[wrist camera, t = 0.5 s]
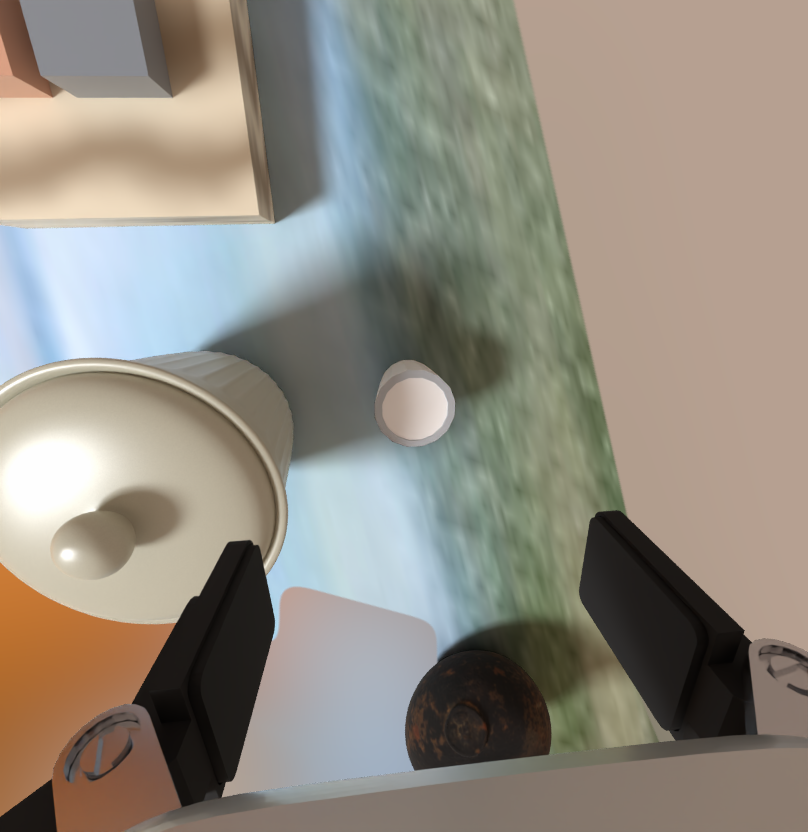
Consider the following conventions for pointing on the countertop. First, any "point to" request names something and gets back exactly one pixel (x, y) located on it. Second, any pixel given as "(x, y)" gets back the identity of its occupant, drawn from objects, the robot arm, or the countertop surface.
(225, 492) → the canister
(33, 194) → the board
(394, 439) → the shot glass
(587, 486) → the countertop surface
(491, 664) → the dark brown vase
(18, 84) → the terracotta tile
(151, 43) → the slate tile
